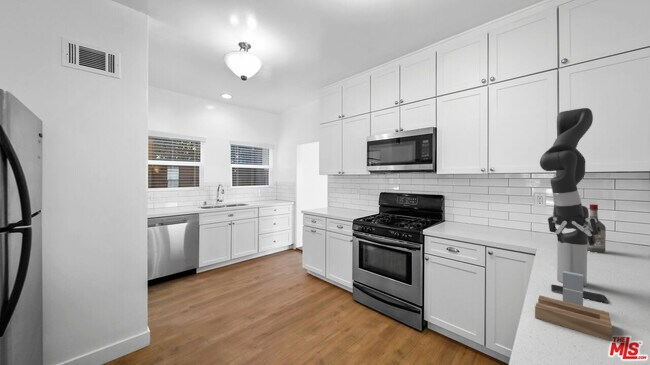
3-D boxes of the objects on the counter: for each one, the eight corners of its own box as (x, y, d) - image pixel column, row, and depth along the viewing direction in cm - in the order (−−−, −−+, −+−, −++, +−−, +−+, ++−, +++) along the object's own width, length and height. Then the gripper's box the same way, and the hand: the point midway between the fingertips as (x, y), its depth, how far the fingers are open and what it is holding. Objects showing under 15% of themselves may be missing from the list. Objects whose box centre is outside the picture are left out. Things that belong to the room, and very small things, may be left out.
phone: (608, 302, 90) (551, 289, 100) (608, 305, 90) (551, 292, 100) (604, 294, 96) (551, 283, 106) (604, 297, 96) (551, 286, 106)
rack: (539, 305, 88) (539, 295, 88) (608, 324, 77) (608, 312, 77) (534, 317, 80) (535, 306, 80) (611, 340, 68) (612, 327, 68)
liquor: (608, 253, 159) (608, 205, 159) (590, 252, 161) (591, 204, 161) (595, 249, 168) (596, 204, 168) (579, 248, 170) (579, 203, 170)
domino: (563, 301, 91) (563, 270, 91) (582, 306, 88) (583, 274, 88) (562, 303, 90) (563, 272, 90) (582, 308, 86) (583, 276, 86)
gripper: (596, 199, 93) (606, 242, 94) (549, 201, 106) (557, 238, 106) (588, 204, 90) (598, 249, 90) (540, 205, 103) (549, 244, 103)
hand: (576, 243), depth 98 cm, fingers open, 8 cm apart
